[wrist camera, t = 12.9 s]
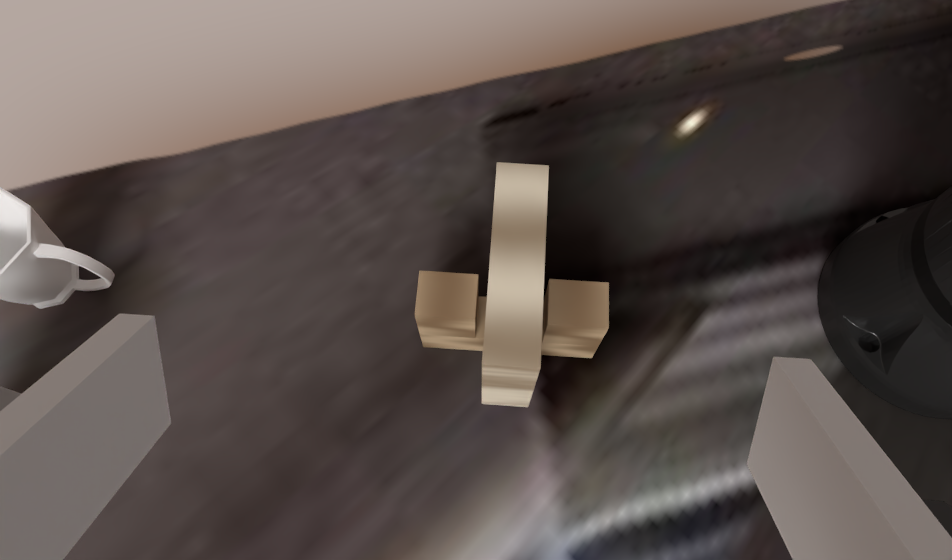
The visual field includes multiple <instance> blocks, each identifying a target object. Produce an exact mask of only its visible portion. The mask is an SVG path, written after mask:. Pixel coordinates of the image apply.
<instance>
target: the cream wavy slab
mask: <svg viewBox="0 0 952 560" xmlns="http://www.w3.org/2000/svg"><path fill="white" fill-rule="evenodd" d="M548 175H549V166H548V165H532V164H516V163H500V162H497V168H496V182H495V195H494V209H493V223H492V236H491V250H490V263H489V277H488V290H487V304H486V317H485V331H484V344H483V358H482V404H492V405H505V406H519V407H528V406H529V403H530V399H531V396H532V393H533V390H534V387H535V384H536V381H537V378H538V375H539V371H540V368H541V344H542V320H543V296H544V272H545V248H546V224H547V199H548Z"/></svg>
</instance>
